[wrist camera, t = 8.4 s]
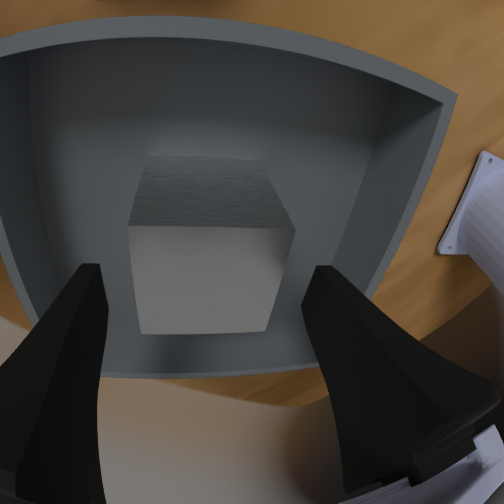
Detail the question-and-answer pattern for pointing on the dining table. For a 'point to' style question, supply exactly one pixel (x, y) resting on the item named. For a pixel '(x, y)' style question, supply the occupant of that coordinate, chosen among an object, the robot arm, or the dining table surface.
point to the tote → (212, 146)
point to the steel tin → (206, 245)
